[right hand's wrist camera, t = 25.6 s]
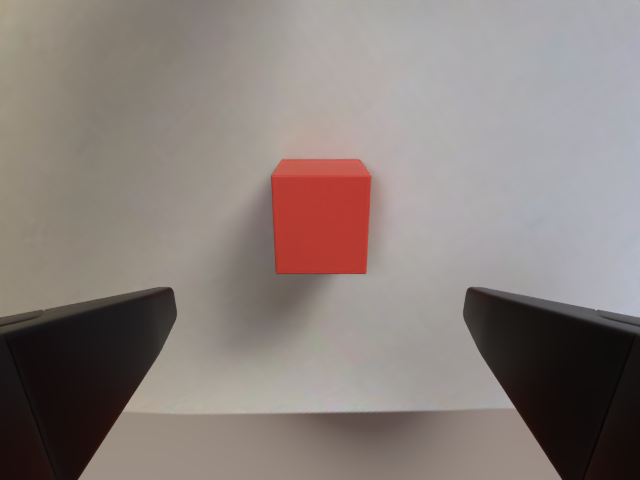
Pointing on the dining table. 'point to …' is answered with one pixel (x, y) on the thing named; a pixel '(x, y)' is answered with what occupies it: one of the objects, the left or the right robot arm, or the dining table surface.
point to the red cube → (321, 216)
